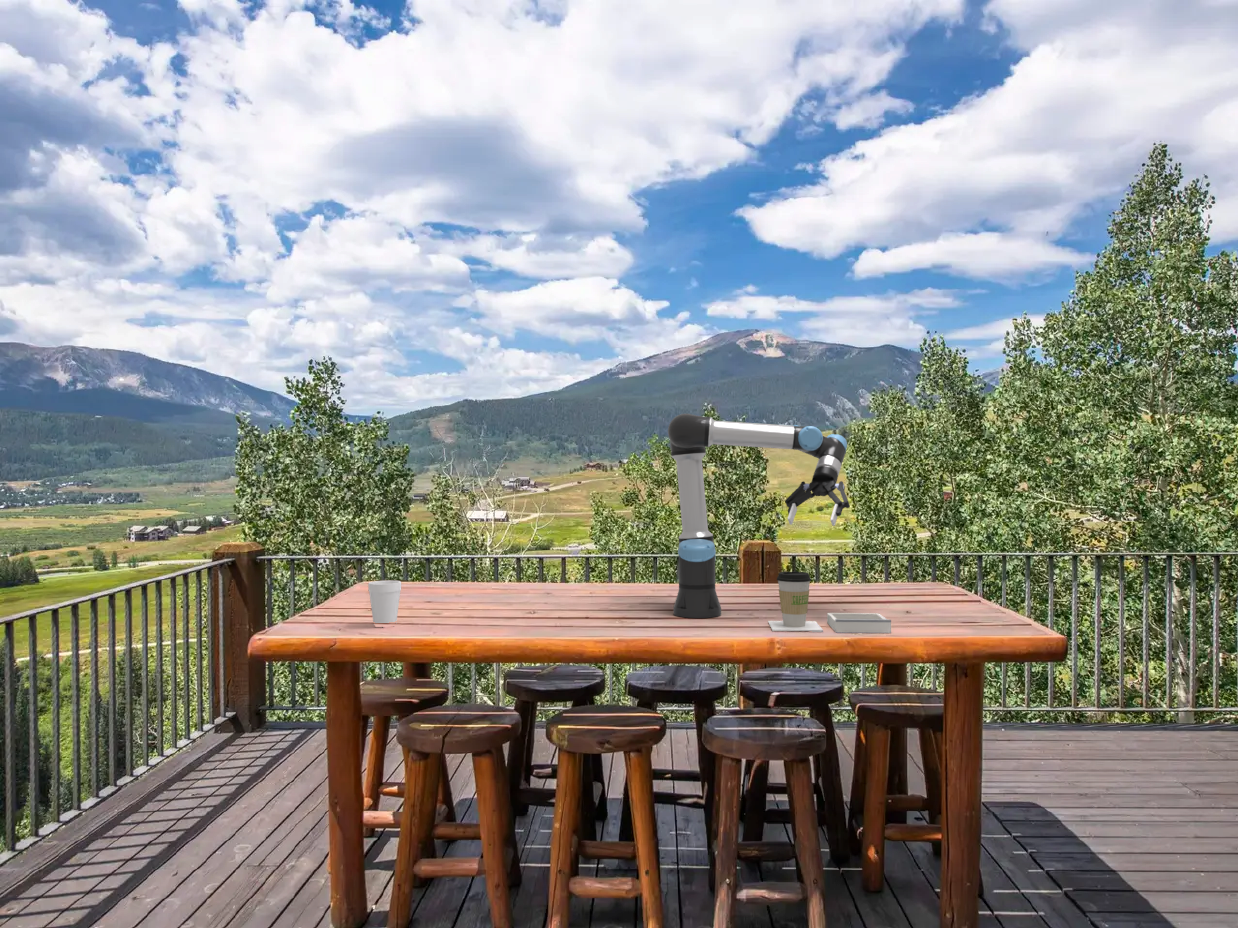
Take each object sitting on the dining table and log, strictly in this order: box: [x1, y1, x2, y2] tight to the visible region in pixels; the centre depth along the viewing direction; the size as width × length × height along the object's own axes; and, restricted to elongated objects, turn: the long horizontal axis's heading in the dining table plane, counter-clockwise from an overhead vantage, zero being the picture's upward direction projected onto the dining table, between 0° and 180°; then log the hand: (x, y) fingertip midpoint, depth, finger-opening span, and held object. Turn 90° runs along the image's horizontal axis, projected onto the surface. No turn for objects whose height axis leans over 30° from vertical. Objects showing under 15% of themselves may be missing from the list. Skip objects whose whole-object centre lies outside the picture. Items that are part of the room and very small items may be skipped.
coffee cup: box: [776, 571, 812, 627], centre depth 235 cm, size 10×10×15 cm
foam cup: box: [367, 579, 402, 623], centre depth 242 cm, size 10×9×13 cm
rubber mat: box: [767, 620, 824, 633], centre depth 235 cm, size 14×14×1 cm
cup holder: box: [826, 612, 892, 634], centre depth 233 cm, size 15×15×4 cm
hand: (810, 522), depth 249 cm, fingers open, 13 cm apart
